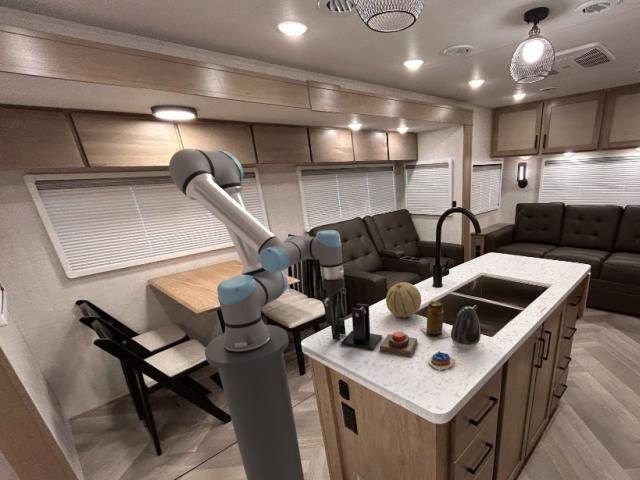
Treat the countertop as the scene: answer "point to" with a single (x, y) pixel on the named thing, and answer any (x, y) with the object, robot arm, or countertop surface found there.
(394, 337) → the button
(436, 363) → the dessert
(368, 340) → the bracket
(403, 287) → the cantaloupe
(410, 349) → the button block
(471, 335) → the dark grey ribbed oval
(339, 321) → the lever
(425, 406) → the countertop surface
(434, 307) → the condiment
